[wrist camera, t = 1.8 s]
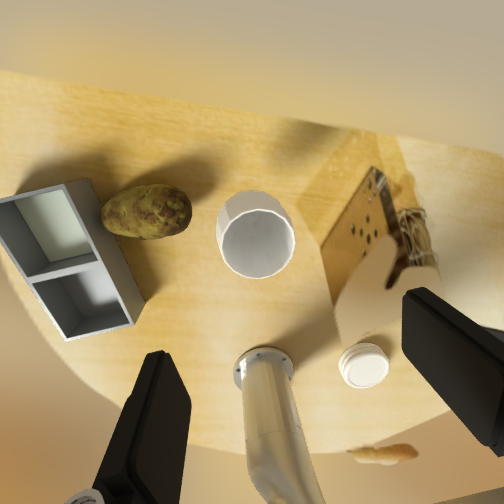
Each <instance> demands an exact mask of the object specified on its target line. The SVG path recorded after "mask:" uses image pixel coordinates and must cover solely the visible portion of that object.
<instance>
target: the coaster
mask: <svg viewBox="0 0 504 504" xmlns="http://www.w3.org/2000/svg"><path fill="white" fill-rule="evenodd" d="M339 370H340V372H341V374H342V376H343V377H344V380H345V381H346V383H347V384H349V385H350V386H352V387H355V388H368V387H372V386H374V385H376V384H378V383H380V382H381V381H382V380H383V379H384V378H385V377H386V376H387V374H388V372H389V370H390V361H389V359H388V357H387V356H386V355H385V353H384V352H383V351H382V349H381V348H380V347H379V346H377V345H375V344H373V343H359V344H356V345H353V346H351V347H350V348H348V349H347V350H346V351H345V352H344V353H343V354H342V355H341V357H340V359H339Z"/></svg>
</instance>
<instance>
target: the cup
mask: <svg viewBox="0 0 504 504" xmlns="http://www.w3.org/2000/svg"><path fill="white" fill-rule="evenodd" d="M216 238H217V241H218V245H219V248H220V251H221V254H222V257H223V259H224V261H225V263H226V264H227V265H228V266H229V267H230V268H231V270H232V271H233V272H235V273H237V274H239V275H241V276H243V277H245V278H254V279H262V278H266V277H270V276H273V275H275V274H276V273H278V272H279V271H281V270H282V269H284V268H285V267H286V265H287V264H288V262H289V261H290V260H291V258H292V257H293V253H294V249H295V245H296V240H295V234H294V229H293V225H292V222H291V219H290V217H289V216H288V214H287V213H286V211H285V210H284V208H283V207H282V205H281V204H280V203H279V201H278V200H277V199H275V198H274V197H272V196H271V195H269V194H267V193H266V192H261V191H255V190H247V191H243V192H239V193H237V194H235V195H234V196H233V197H231V198H230V199H229V200H227V201H226V202H225V203H224V205H223V207H222V208H221V210H220V212H219V213H218V218H217V226H216Z"/></svg>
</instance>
